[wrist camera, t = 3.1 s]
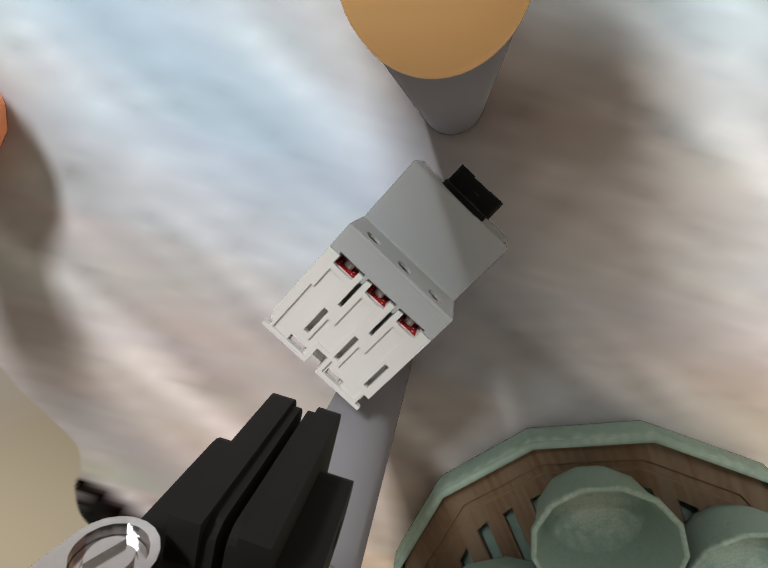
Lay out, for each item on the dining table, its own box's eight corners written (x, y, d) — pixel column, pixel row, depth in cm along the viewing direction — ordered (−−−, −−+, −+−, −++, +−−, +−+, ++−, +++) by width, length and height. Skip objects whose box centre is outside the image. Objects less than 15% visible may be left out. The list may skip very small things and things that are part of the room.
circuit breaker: (509, 211, 37) (540, 238, 22) (391, 326, 41) (353, 412, 26) (442, 146, 36) (430, 132, 22) (330, 270, 40) (258, 325, 26)
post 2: (428, 58, 35) (359, -184, 11) (495, 73, 34) (574, -146, 10) (412, 127, 36) (318, 48, 12) (475, 142, 36) (505, 91, 12)
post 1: (363, 328, 41) (229, 548, 17) (418, 343, 41) (358, 593, 17) (351, 377, 43) (212, 645, 19) (404, 393, 42) (331, 688, 18)
